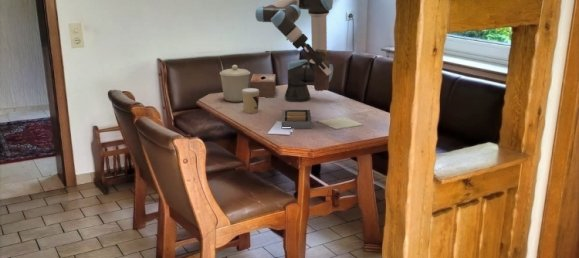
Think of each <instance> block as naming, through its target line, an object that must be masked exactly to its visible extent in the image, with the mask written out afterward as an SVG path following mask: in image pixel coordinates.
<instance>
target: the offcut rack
mask: <svg viewBox="0 0 579 258" xmlns="http://www.w3.org/2000/svg"><path fill="white" fill-rule="evenodd" d="M287 112H305V114H306V121H287ZM282 127H291V128H299V129H298V130H302V129H303V130H312V117H311V110H310V109H282V111H281V128H282Z"/></svg>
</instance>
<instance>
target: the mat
mask: <svg viewBox="0 0 579 258" xmlns="http://www.w3.org/2000/svg"><path fill="white" fill-rule="evenodd" d="M318 123H319V124H322V125H324V126H327V127H329V128H331V129H332V130H336V131H337V130H338V131H339V130H344V129H349V128H356V127H362V126H363V125H364V124H363V123H360V122H359V121H355V120H353V119H351V118H348V117H345V116H343V117H337V118H330V119H324V120H318Z"/></svg>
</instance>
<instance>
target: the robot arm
mask: <svg viewBox="0 0 579 258" xmlns="http://www.w3.org/2000/svg"><path fill="white" fill-rule="evenodd" d="M333 3H334V2H333V0H277V1H274V2H273V3H271V4H269V5H266V6H264V5H263V6H262V5H261V6H258V7H256V9H255V20H256V22H257V21H258V22H260V23H261V22H262V23H272V25H274V27H275V28H276V29H277V30H278V31H279V32H280V33H281V34H282V35H283V36H284V37H285V38H286V41H289V42H290V43H292V46H293V47H295V49H296V50H298V49H300V48H302V52H304V53H305V54H306V56H308V57H309V58H310V60H309V61H308V59H297V60H292V61H290V62H288V64H287V70H286V71H287V88H286V90H285V94H284V100H285V101H287V102H288V101H289V102H291V103H292V102H294V103H300V102H301V103H302V102H308V101H310V100H311V95H310V91H309V88H308V84H314V76H315V63H316V65H317V67H318V66H319V67H320V68H321V69H322V70H323V71H324V73H325V74H326V75H327V76H328V75H329V83H330V82H331V81H332V78H333V75H334V66H333V64H332V63H330V64H329V68H328V67H327V66H326V65H325V64H324V63H323V62H322V61H321V60H320V59H319V58H318V57H317V56H316V55H315V50H316V49H319V50H326V51H328V50H327V49H328V46H327V44H328V41H327V40H328V39H327V38H328V37H327V33H328V32H327V31H328V29H327V28H328V27H327V16H328V15H329V14H330V11H331V10H332V9H333ZM301 10H308V11H307V13H308V15H309V16H310V24H311V25H310V27H311V45H310V43H307V41H308V40H309V37H308V36H306V34H305V33H303V31H302V30H301V29H300V28H299V27H298V26H297V25H296V24H295V23H296V22H297V21H298V20H299V18H300V17H301V13H302V12H301Z"/></svg>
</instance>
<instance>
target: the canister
mask: <svg viewBox="0 0 579 258" xmlns="http://www.w3.org/2000/svg"><path fill="white" fill-rule="evenodd" d="M219 75H220V80H221V86H222V87H221V88H222V91H223V92H222V93H223V97H224V99H225V101H227V102H231V103H232V102H233V103H239V102H243V96H242V90H243V89H247V88H249V87H250V75H251V71H249V70H248V69H245V68H239V66H238V65H237V64H233V65H231V68H227V69H223V70H221V71H220V72H219Z"/></svg>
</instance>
